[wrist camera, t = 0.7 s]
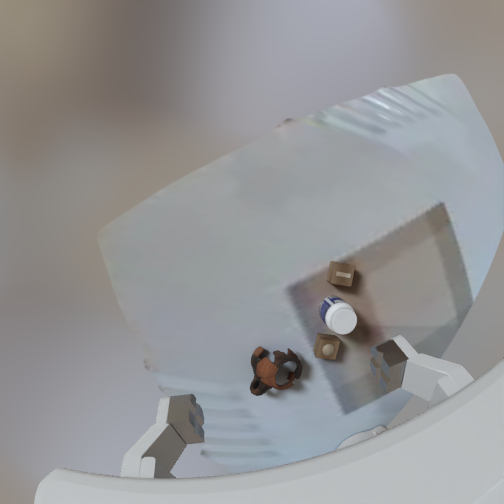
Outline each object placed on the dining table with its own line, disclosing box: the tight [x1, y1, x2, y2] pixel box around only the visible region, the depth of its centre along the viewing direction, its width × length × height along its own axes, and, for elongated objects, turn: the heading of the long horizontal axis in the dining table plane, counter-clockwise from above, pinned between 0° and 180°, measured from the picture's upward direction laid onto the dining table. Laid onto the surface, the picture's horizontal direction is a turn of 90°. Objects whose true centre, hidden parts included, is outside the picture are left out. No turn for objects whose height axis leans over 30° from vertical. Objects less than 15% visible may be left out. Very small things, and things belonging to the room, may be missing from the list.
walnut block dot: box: [313, 333, 340, 360], centre depth 53 cm, size 4×4×4 cm
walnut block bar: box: [327, 261, 355, 287], centre depth 53 cm, size 4×4×4 cm
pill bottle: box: [319, 296, 357, 334], centre depth 50 cm, size 6×6×10 cm
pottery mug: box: [250, 347, 302, 396], centre depth 54 cm, size 12×9×8 cm
